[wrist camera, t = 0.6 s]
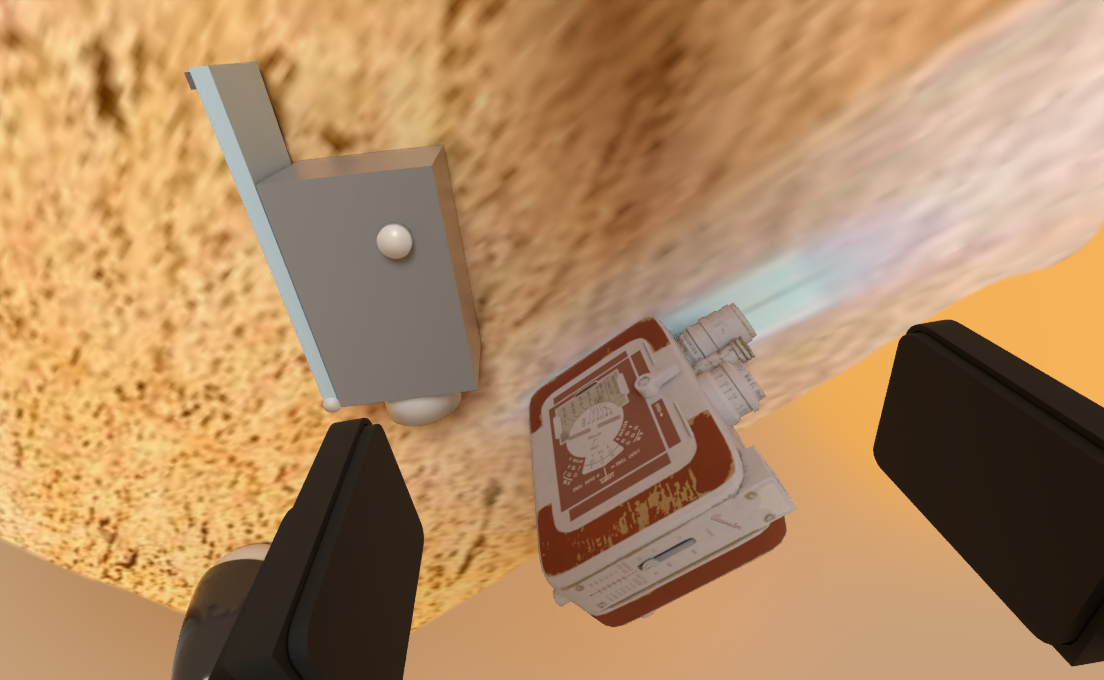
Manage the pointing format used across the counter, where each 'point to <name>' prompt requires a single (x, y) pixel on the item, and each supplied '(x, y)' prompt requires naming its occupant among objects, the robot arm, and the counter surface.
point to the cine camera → (652, 469)
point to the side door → (257, 178)
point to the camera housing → (381, 277)
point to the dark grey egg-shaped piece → (215, 611)
